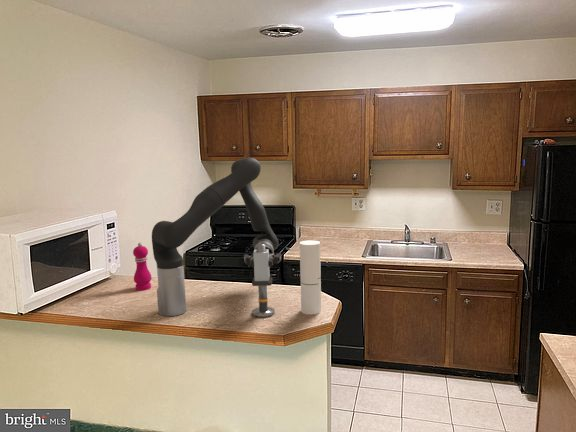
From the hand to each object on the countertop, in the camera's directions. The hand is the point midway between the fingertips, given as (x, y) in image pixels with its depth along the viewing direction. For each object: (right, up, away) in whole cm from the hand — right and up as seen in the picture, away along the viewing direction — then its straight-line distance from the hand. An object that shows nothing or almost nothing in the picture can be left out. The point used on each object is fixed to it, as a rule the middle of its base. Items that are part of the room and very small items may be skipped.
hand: (261, 264), depth 154 cm
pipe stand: (0, -18, +5) cm, 19 cm away
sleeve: (0, -5, +3) cm, 7 cm away
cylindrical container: (+17, -18, +6) cm, 26 cm away
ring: (0, -6, +4) cm, 7 cm away
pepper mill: (-53, -14, +38) cm, 67 cm away
